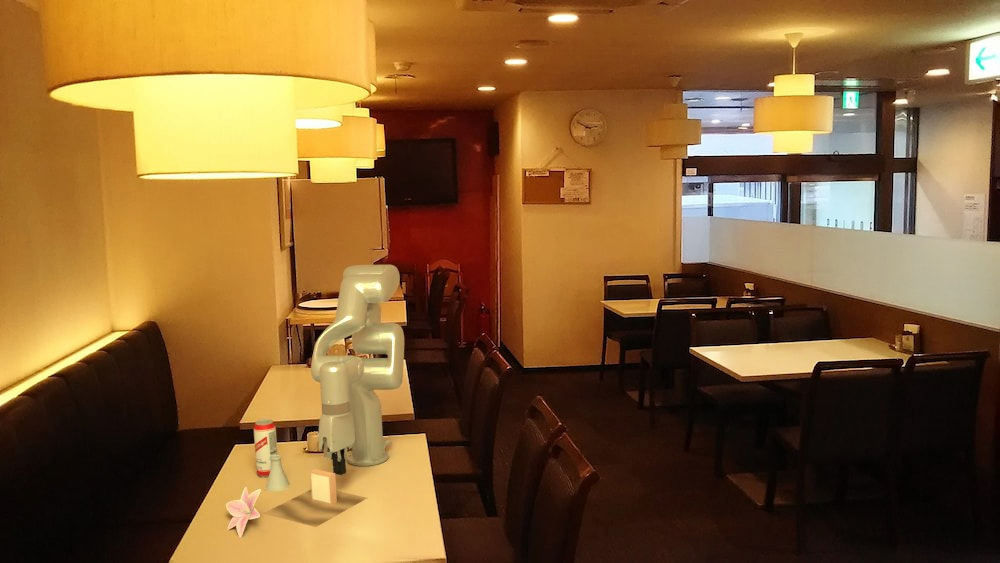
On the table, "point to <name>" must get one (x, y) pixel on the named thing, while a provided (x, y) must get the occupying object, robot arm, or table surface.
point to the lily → (243, 510)
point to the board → (314, 508)
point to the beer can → (264, 445)
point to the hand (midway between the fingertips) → (339, 473)
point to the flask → (276, 475)
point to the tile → (323, 486)
